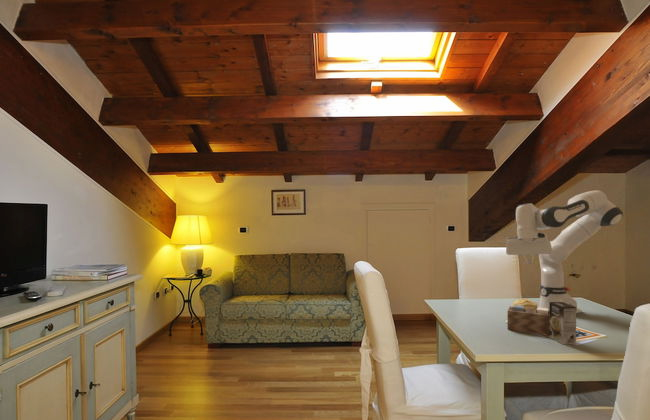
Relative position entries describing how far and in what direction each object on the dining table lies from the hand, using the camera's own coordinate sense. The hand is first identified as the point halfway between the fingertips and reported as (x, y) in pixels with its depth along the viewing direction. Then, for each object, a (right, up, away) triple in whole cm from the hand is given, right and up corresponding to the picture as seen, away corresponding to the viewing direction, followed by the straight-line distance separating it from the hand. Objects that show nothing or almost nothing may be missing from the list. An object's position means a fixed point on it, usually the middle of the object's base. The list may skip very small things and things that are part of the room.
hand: (529, 263), depth 193 cm
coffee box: (+4, -31, -21) cm, 37 cm away
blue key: (-6, -24, -2) cm, 25 cm away
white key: (+2, -24, -7) cm, 25 cm away
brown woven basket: (-2, -31, -5) cm, 31 cm away
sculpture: (+4, -31, +13) cm, 34 cm away
